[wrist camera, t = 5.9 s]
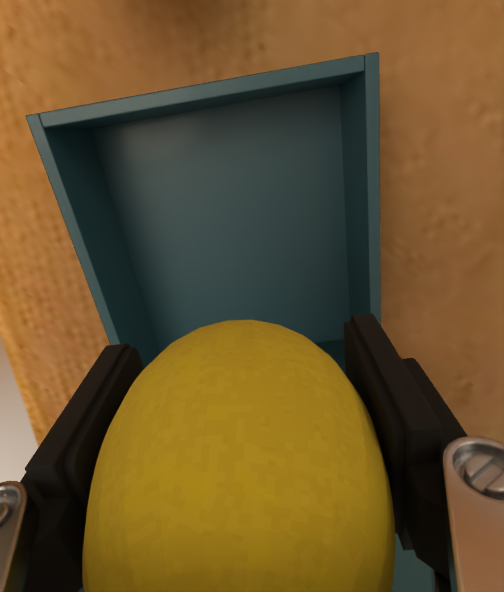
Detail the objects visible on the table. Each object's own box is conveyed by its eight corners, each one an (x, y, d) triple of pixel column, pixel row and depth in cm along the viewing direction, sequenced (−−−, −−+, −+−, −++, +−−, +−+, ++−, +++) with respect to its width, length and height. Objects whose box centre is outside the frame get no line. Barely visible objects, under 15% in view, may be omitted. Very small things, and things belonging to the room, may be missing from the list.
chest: (81, 119, 21) (24, 115, 16) (347, 72, 20) (379, 51, 15) (158, 364, 28) (137, 417, 23) (357, 339, 27) (381, 388, 22)
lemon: (124, 299, 10) (-190, 728, 3) (315, 245, 9) (511, 636, 2) (194, 436, 12) (111, 865, 5) (352, 400, 12) (507, 841, 5)
